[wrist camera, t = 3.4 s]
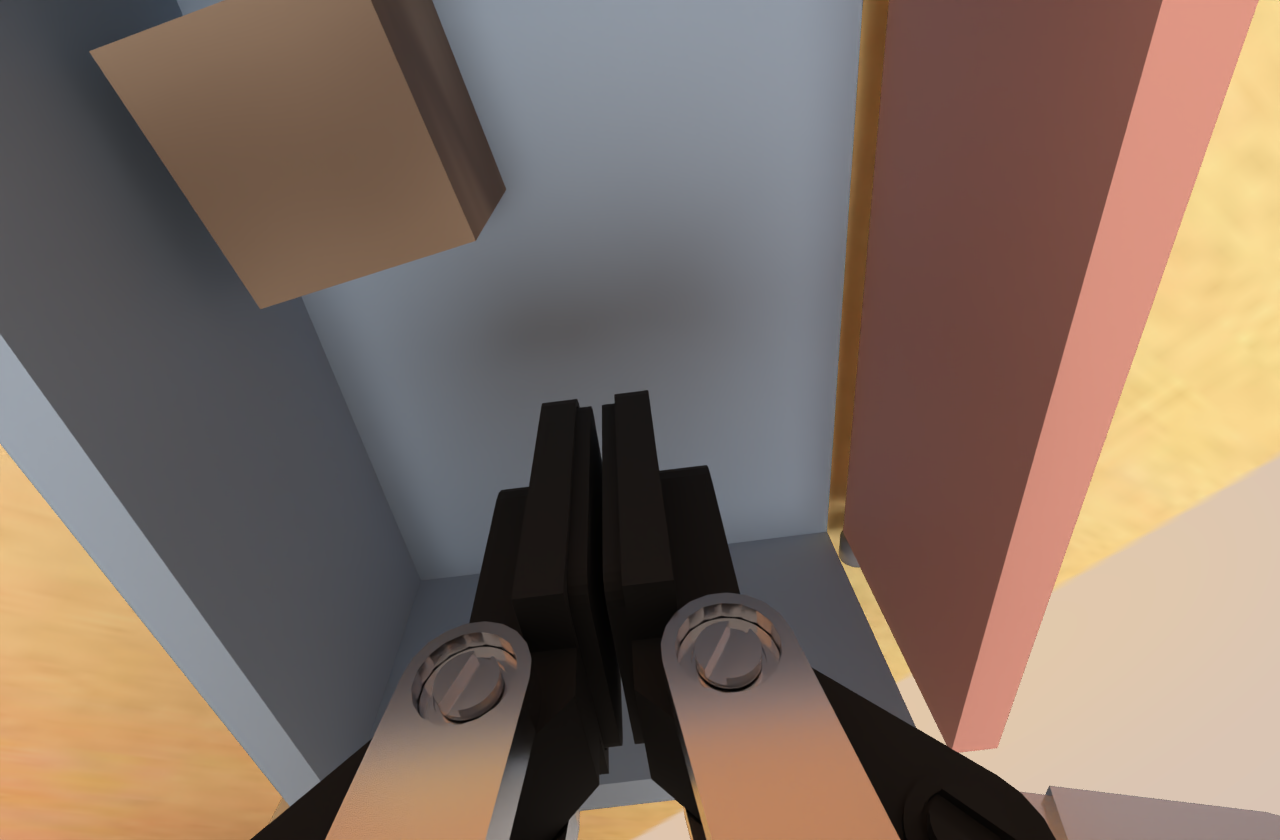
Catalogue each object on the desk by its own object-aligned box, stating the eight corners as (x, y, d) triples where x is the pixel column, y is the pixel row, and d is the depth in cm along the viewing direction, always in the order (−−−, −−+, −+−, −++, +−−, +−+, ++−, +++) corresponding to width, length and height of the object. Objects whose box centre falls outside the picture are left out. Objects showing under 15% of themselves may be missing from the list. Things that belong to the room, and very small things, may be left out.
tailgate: (888, 526, 19) (1015, 745, 13) (842, 532, 19) (950, 753, 13) (978, -134, 11) (1419, -326, 5) (899, -123, 11) (1247, -302, 5)
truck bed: (857, 529, 21) (980, 764, 14) (407, 582, 21) (317, 841, 14) (931, -200, 11) (1409, -532, 5) (112, -91, 12) (-563, -260, 5)
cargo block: (506, 189, 14) (475, 240, 10) (341, 242, 14) (260, 308, 11) (422, -25, 12) (350, -47, 8) (232, 45, 12) (88, 51, 9)
